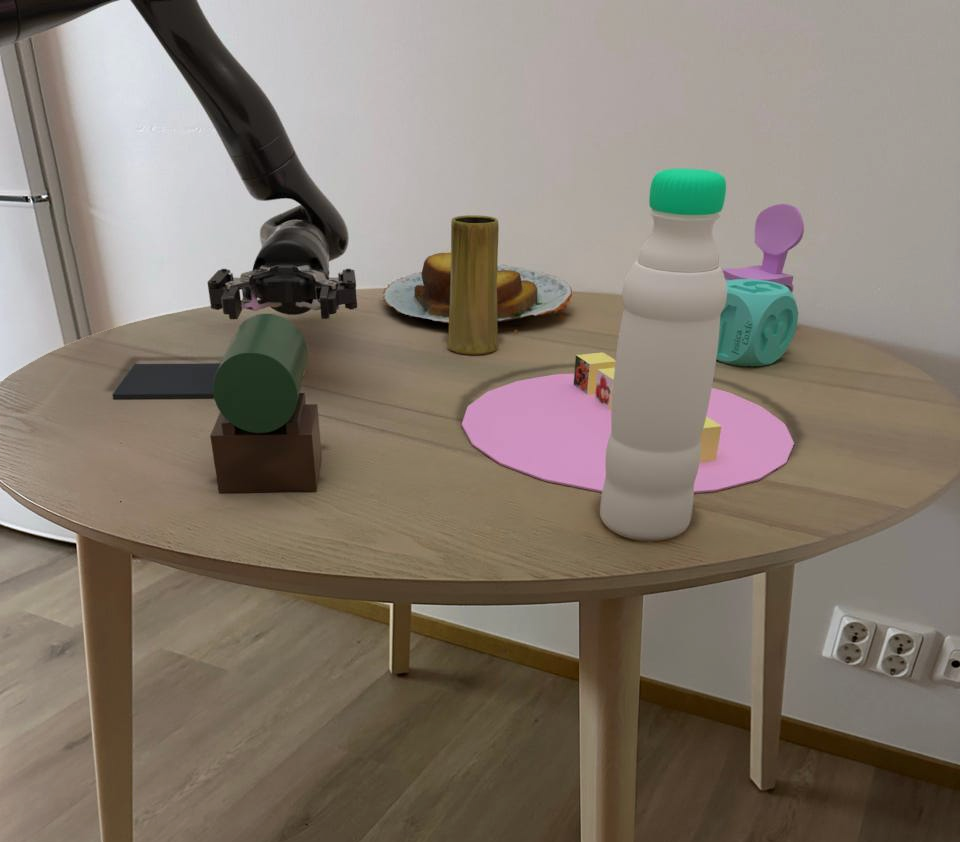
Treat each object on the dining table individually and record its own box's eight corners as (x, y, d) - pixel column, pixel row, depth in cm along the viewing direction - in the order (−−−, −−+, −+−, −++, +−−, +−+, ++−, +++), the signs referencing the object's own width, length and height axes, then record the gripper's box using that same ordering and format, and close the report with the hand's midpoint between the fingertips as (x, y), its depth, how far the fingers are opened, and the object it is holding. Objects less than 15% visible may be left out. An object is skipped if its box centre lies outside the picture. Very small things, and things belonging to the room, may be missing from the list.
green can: (218, 433, 73) (206, 352, 69) (237, 387, 82) (228, 313, 78) (300, 432, 73) (293, 352, 69) (310, 387, 82) (304, 313, 79)
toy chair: (700, 327, 120) (719, 201, 112) (754, 321, 123) (777, 198, 115) (740, 345, 114) (764, 213, 105) (796, 338, 117) (823, 209, 109)
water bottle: (580, 520, 73) (611, 168, 59) (640, 496, 77) (682, 161, 63) (647, 553, 69) (698, 182, 55) (707, 527, 72) (769, 174, 58)
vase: (506, 345, 112) (510, 217, 104) (485, 358, 107) (488, 226, 99) (460, 337, 114) (462, 212, 106) (438, 350, 109) (438, 220, 101)
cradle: (218, 493, 76) (208, 423, 72) (230, 459, 82) (221, 393, 78) (316, 491, 76) (310, 422, 73) (321, 458, 82) (316, 392, 79)
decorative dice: (694, 353, 111) (704, 284, 106) (737, 343, 115) (749, 275, 110) (747, 371, 105) (760, 298, 101) (790, 359, 109) (805, 289, 105)
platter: (680, 362, 108) (684, 333, 106) (867, 467, 83) (877, 431, 81) (419, 390, 98) (418, 358, 96) (543, 518, 73) (546, 479, 71)
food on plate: (606, 320, 122) (611, 268, 118) (439, 345, 111) (439, 289, 108) (506, 279, 140) (508, 232, 136) (355, 297, 130) (352, 247, 126)
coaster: (113, 399, 94) (112, 394, 93) (135, 368, 102) (134, 363, 102) (213, 398, 95) (212, 393, 94) (227, 367, 103) (226, 363, 102)
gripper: (220, 231, 97) (194, 265, 83) (357, 231, 98) (352, 265, 84) (230, 304, 101) (206, 349, 88) (361, 304, 102) (357, 348, 89)
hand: (278, 308), depth 86 cm, fingers open, 8 cm apart
